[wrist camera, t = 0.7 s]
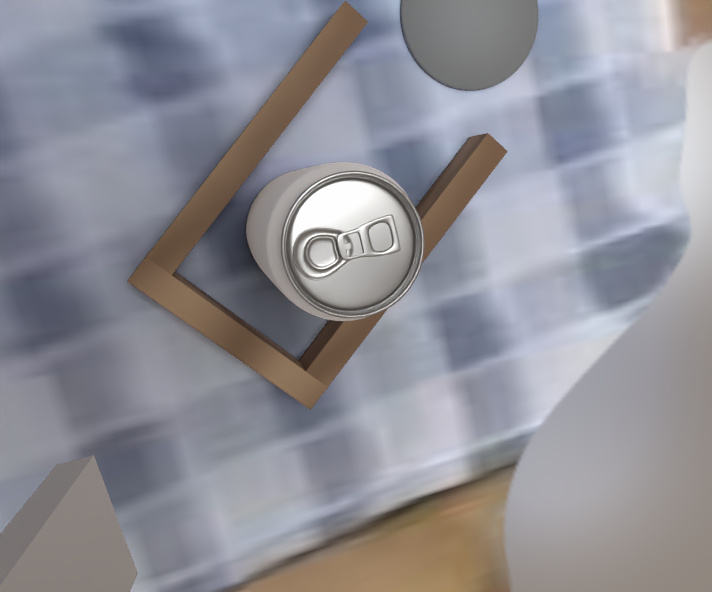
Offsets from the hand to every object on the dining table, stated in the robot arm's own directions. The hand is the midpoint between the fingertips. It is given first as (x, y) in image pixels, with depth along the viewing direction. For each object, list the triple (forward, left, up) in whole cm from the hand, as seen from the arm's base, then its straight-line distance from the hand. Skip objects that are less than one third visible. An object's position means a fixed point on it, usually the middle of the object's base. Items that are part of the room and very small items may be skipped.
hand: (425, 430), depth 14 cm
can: (-1, +3, -25) cm, 25 cm away
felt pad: (-1, +18, -24) cm, 30 cm away
